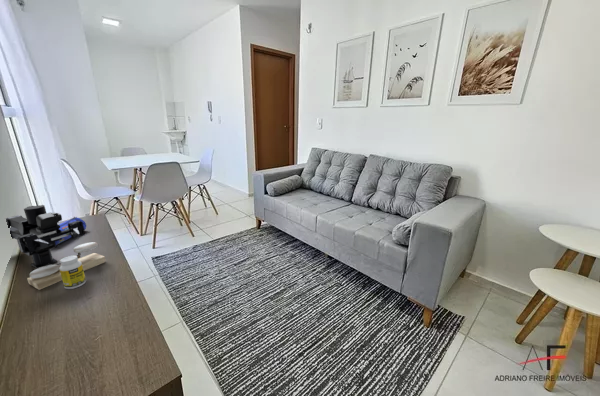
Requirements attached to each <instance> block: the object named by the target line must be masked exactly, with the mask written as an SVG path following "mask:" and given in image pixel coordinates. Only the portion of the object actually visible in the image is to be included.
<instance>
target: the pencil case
mask: <svg viewBox="0 0 600 396" xmlns="http://www.w3.org/2000/svg"><path fill="white" fill-rule="evenodd" d="M75 221H81V222H83V226H84V230H86V229H87V223H86V221H85V220H83V219H81V218H80V217H77V216H73V217H70V218H68V219H67V220H65V221H63V222H61V223H60V224H58V225H60V228H59V229H60V230H61V231H64V230H68V229H69V228H68V223H71V222H75ZM64 235H65V234H64ZM71 238H72V237H71V235H69V236H66V237H62V240H59V241H56V242H55V244H56V246H58V245H59V244H61V243H63V242H65V241H67V240H69V239H71Z"/></svg>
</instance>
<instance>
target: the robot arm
mask: <svg viewBox="0 0 600 396" xmlns="http://www.w3.org/2000/svg"><path fill="white" fill-rule="evenodd" d="M23 211H24V212H23V213H24V215H25V217H23V216H22V215H18V214H17V215H14V216H10V217H9V216H8V217H6V218H5V219H6V222H7V225H8V228H10V226H11V228H10V234H11V237H12V239H15V240H16V242H17V245H18V248H19V251H20V252H21V253H24V255H27V256H28V257H32V261H33V262H32V263H31V264H30V265H31V266H32V267H34V268H35V269H38V268H40V267H43V266H47V265H53V264H55V263H57V262H58V260H57V259H56V258H53V255H52V251H51V249H55V248H56V246H57V245H56V244H55V242H56V241H59V240H62V237H66V236H69V235H71V238H72V239H76V238H80V237H82V236H84V235H85V234H86V231H85V230H86V229H85V230H84V226H83V222H81V221H75V222H71V223H68V228H69V229H68V230H64V231H61V230H60V229H59V228H60V225H59V224H58V223H60V222H61V221H62V220H63V216H62V214H61V213H60V212H55V211H54V212H47V210H46V207H45V205H44V204H41V205H29V206H27V207H25V208H23ZM64 234H65V235H64ZM12 239H11V240H12Z"/></svg>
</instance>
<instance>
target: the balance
mask: <svg viewBox="0 0 600 396" xmlns="http://www.w3.org/2000/svg"><path fill="white" fill-rule="evenodd" d="M98 247H99V243H98V242H94V241H93V242H92V241H91V242H84V243H81V244H79V245H76V246H74V248H72V249H73V252H74V253H76V254H77V255H76V256H77V258H78V261H80V262H81V263H82V266H83V270H84V272H85V271H88V270H89V269H92V268H94V267H97V266H99V265H102V264H104V263H106V262H107V260H106V256H104V255H101V254H100V253H96V252H93V253H90V254H87V255H84V256H82V257H81V255H82V254H81V253H86V252H87V253H88V252H91V251H93V250H95V249H97V248H98ZM60 266H61V264H60V265H59V264H49V265H46V266H43V267H40V268H35V269H34V270H32V271H31V272H30V273H29V277H27V282H28V284H29V285H30V286H31V287H33V288H35V289H37V290H39V291H40V290H43V289H44V288H47V287H49V286H52V285H54V284H56V283H59V282H60V281H63V280H62V277H61V273H60V269H59V268H60Z"/></svg>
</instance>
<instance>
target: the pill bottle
mask: <svg viewBox="0 0 600 396" xmlns="http://www.w3.org/2000/svg"><path fill="white" fill-rule="evenodd" d="M78 259H79V258H77V255H68V256H65V257H63V258H61V259H60V260H59V263H60V265H61V266H60V265H59V266H60V268H59V269H60V273H61V277H62V280H61V281H62V283H63V287H64V289H66V290H74V289H77V288H79V287H81V286H83V285H84V284H85V283H86V282H87V280H86V279H87V278H86V275H85V271H84V270H83V266H82V263H81V262H80V261H78Z"/></svg>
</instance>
